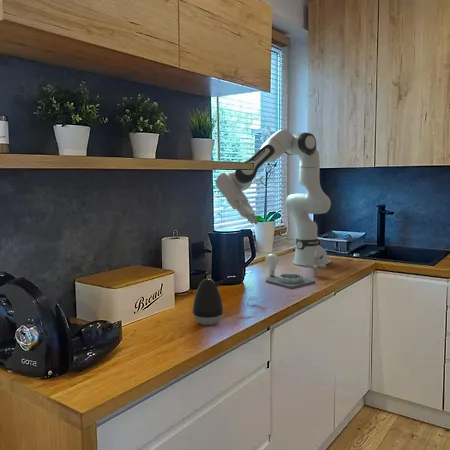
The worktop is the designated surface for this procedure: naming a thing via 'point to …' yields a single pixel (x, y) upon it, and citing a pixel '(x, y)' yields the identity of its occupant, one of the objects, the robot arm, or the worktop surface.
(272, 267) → the lightbulb
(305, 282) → the collar board
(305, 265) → the pipe connector
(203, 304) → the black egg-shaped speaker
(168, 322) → the worktop surface
